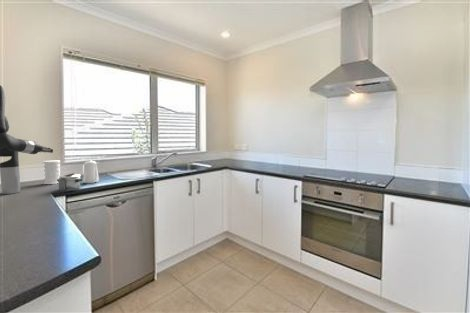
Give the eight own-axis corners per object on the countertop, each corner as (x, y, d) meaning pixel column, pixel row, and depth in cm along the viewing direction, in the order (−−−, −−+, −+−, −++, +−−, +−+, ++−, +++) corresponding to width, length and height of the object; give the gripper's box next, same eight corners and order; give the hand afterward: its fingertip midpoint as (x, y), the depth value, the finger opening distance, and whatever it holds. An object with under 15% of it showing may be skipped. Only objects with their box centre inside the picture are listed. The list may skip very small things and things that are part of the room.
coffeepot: (92, 184, 184) (91, 160, 182) (76, 181, 197) (75, 159, 195) (106, 182, 193) (105, 159, 191) (90, 179, 206) (89, 158, 205)
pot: (72, 191, 161) (71, 179, 160) (50, 191, 162) (50, 179, 161) (87, 187, 174) (86, 176, 174) (67, 187, 176) (66, 176, 175)
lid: (71, 179, 161) (70, 176, 161) (54, 179, 163) (53, 176, 162) (84, 175, 174) (84, 172, 174) (68, 175, 175) (68, 172, 175)
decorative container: (61, 183, 189) (60, 161, 188) (43, 185, 183) (41, 162, 181) (62, 181, 199) (61, 160, 197) (45, 182, 193) (43, 160, 191)
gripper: (39, 141, 139) (62, 146, 156) (18, 139, 140) (43, 144, 157) (37, 154, 138) (60, 157, 155) (15, 152, 139) (41, 155, 156)
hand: (51, 151), depth 156 cm, fingers closed
